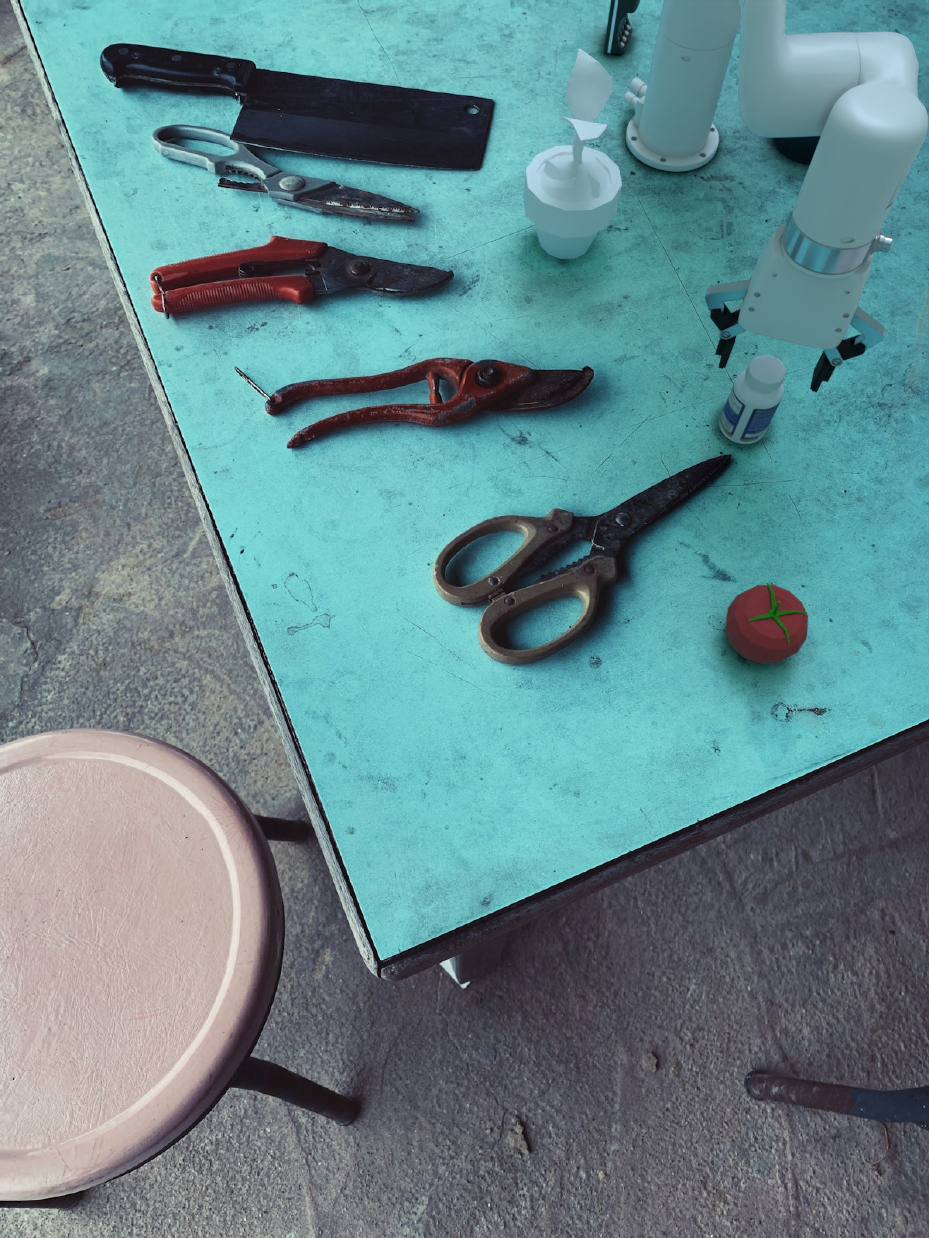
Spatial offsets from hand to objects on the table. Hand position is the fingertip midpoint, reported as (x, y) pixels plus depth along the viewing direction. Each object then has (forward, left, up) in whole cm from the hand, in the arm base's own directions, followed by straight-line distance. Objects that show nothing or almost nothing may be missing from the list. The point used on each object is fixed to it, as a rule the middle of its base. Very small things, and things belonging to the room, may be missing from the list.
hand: (768, 370), depth 97 cm
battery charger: (-59, +39, -10) cm, 72 cm away
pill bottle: (0, 0, -10) cm, 10 cm away
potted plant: (-34, +4, -10) cm, 36 cm away
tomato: (+19, -19, -10) cm, 28 cm away
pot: (-27, +44, -10) cm, 53 cm away
